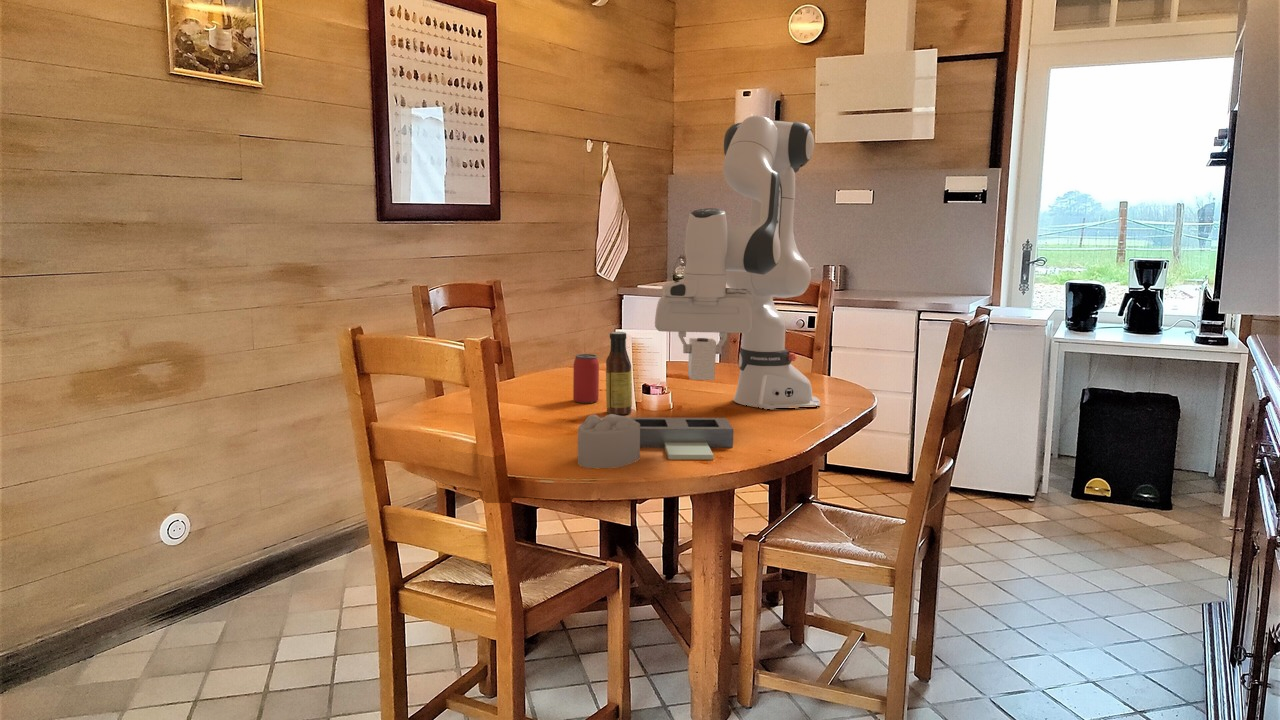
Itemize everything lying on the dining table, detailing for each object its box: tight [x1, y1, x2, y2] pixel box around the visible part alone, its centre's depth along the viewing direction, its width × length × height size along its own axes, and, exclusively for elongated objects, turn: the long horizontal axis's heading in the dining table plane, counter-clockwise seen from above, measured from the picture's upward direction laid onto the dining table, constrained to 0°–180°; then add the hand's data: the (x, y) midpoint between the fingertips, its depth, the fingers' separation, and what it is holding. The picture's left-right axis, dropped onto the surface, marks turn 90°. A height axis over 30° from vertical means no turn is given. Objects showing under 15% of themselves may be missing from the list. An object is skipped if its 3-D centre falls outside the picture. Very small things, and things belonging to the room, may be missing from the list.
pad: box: [663, 443, 714, 460], centre depth 175 cm, size 9×9×1 cm
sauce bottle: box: [605, 331, 633, 416], centre depth 208 cm, size 6×6×20 cm
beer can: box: [572, 353, 600, 404], centre depth 221 cm, size 7×7×12 cm
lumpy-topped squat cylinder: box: [577, 413, 641, 469], centre depth 169 cm, size 10×13×9 cm
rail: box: [628, 416, 734, 448], centre depth 184 cm, size 24×10×4 cm, turn 94°
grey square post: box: [687, 337, 717, 381], centre depth 180 cm, size 5×5×8 cm
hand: (701, 353), depth 180 cm, fingers closed on grey square post, 5 cm apart
